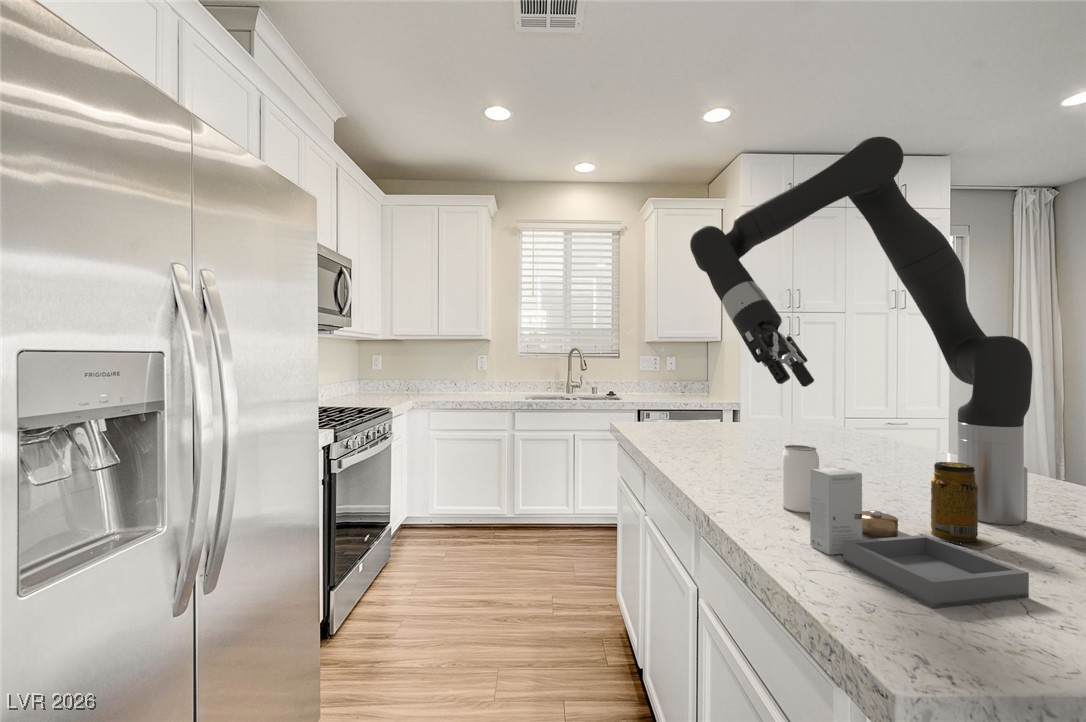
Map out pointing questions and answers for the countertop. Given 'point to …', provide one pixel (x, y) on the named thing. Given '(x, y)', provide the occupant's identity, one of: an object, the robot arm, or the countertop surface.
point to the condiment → (956, 506)
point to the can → (797, 476)
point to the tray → (936, 571)
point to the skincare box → (835, 508)
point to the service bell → (879, 525)
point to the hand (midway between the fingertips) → (797, 383)
